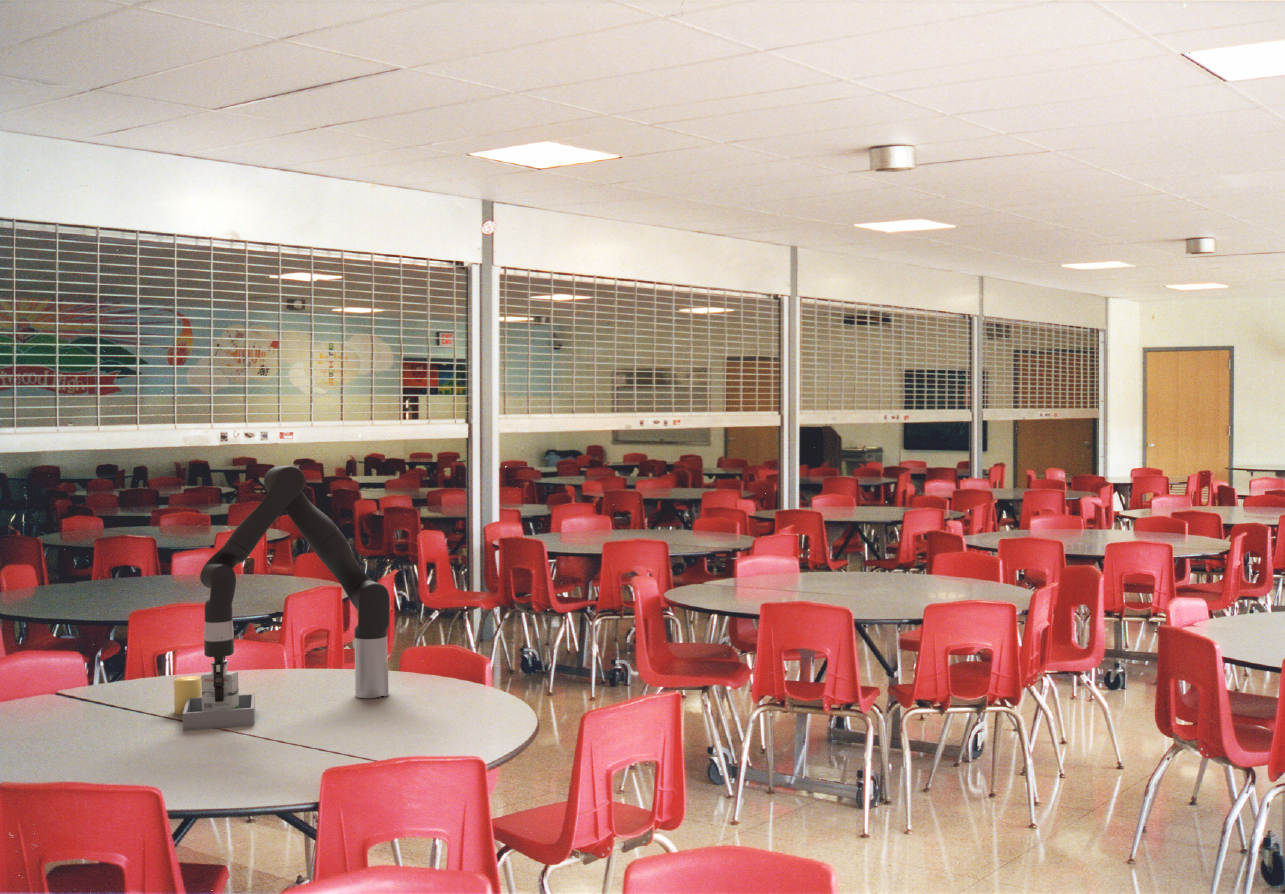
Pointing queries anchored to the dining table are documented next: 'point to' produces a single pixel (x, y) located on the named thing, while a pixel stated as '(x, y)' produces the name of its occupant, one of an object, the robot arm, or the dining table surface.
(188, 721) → the bus tub
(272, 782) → the dining table surface
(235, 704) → the ink box
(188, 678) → the yellow rounded cylinder
